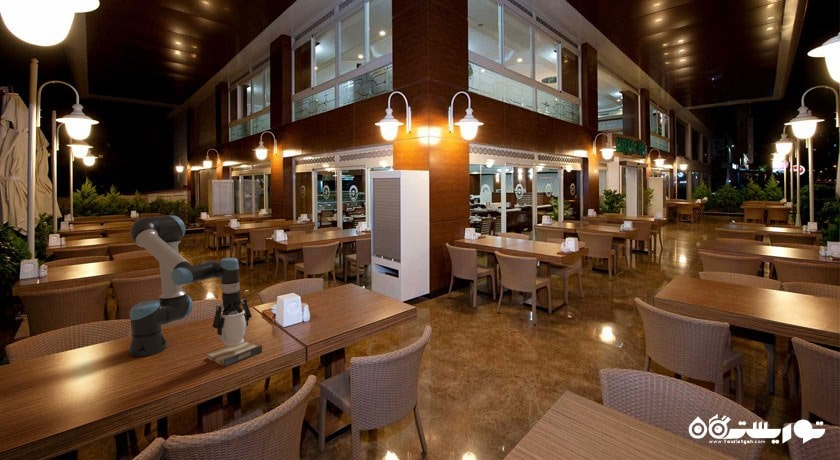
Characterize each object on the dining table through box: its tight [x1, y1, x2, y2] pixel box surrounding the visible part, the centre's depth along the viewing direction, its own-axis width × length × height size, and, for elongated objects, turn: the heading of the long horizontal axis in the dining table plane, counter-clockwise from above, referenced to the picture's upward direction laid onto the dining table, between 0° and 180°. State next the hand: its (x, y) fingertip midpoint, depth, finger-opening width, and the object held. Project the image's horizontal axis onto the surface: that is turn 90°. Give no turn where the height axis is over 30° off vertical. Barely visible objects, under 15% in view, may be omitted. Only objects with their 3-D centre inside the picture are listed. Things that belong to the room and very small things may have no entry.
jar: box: [220, 308, 246, 347], centre depth 174 cm, size 11×10×15 cm
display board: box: [206, 340, 263, 368], centre depth 175 cm, size 15×18×3 cm
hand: (233, 337), depth 174 cm, fingers closed on jar, 10 cm apart
